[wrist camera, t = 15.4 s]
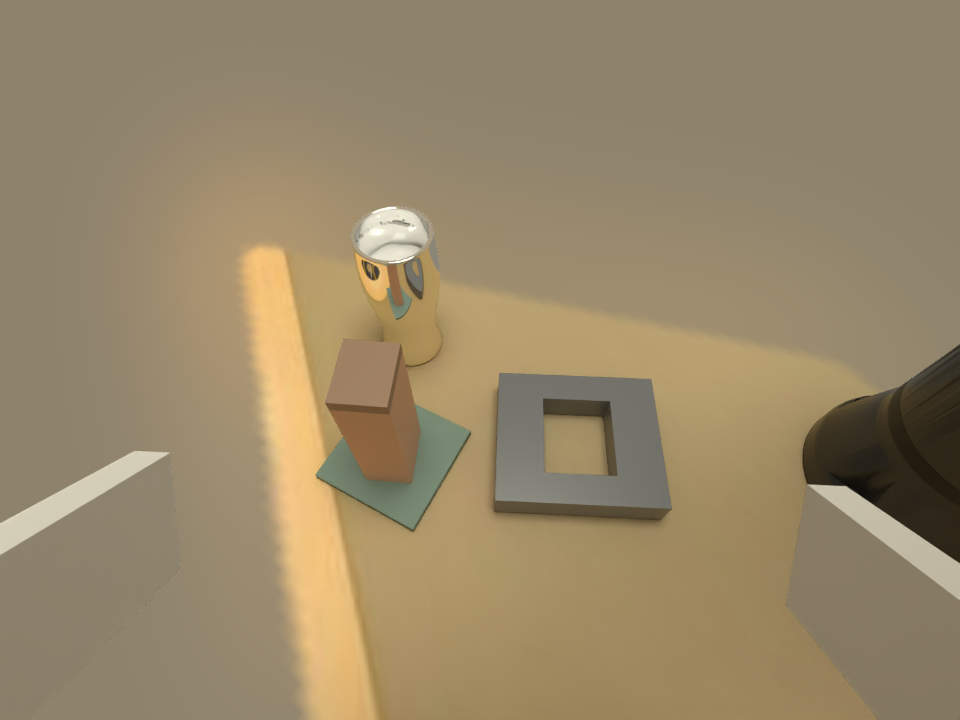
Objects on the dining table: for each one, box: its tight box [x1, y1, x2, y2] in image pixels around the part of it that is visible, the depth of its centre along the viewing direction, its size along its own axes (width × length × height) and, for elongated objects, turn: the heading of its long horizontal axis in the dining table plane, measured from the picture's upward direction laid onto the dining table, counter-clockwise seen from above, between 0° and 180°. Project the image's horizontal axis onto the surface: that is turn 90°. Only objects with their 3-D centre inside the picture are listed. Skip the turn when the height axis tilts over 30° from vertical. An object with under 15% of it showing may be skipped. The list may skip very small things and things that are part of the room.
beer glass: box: [351, 206, 442, 366], centre depth 47 cm, size 7×7×15 cm
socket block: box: [494, 373, 672, 520], centre depth 45 cm, size 14×12×3 cm
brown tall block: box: [325, 339, 421, 483], centre depth 40 cm, size 4×5×14 cm
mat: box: [316, 404, 471, 531], centre depth 46 cm, size 10×10×1 cm
